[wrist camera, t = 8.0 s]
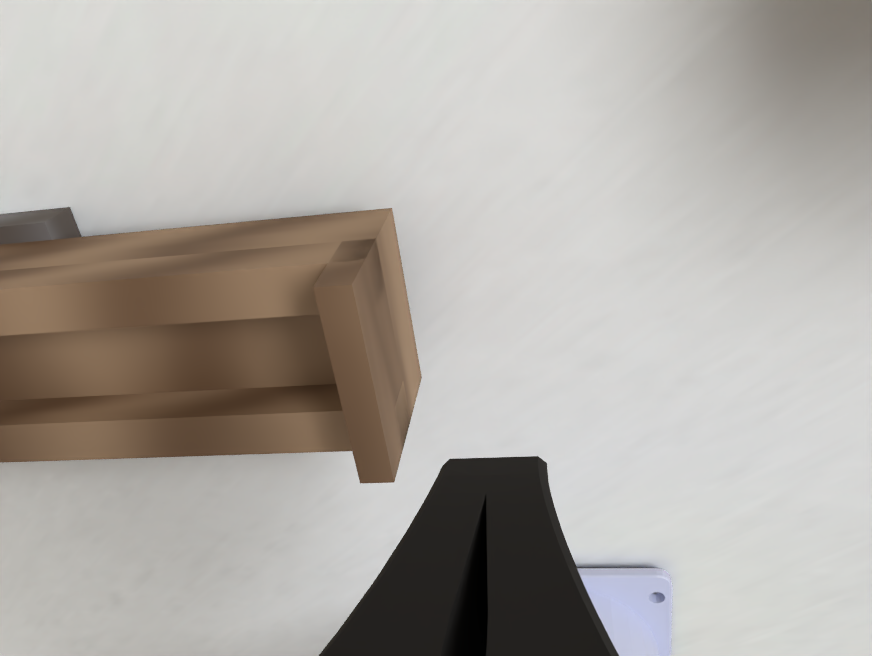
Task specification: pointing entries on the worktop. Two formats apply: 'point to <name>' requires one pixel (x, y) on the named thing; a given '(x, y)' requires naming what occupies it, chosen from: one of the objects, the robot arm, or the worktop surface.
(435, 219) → the worktop surface
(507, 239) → the worktop surface
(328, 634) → the worktop surface
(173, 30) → the worktop surface
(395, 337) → the beam
